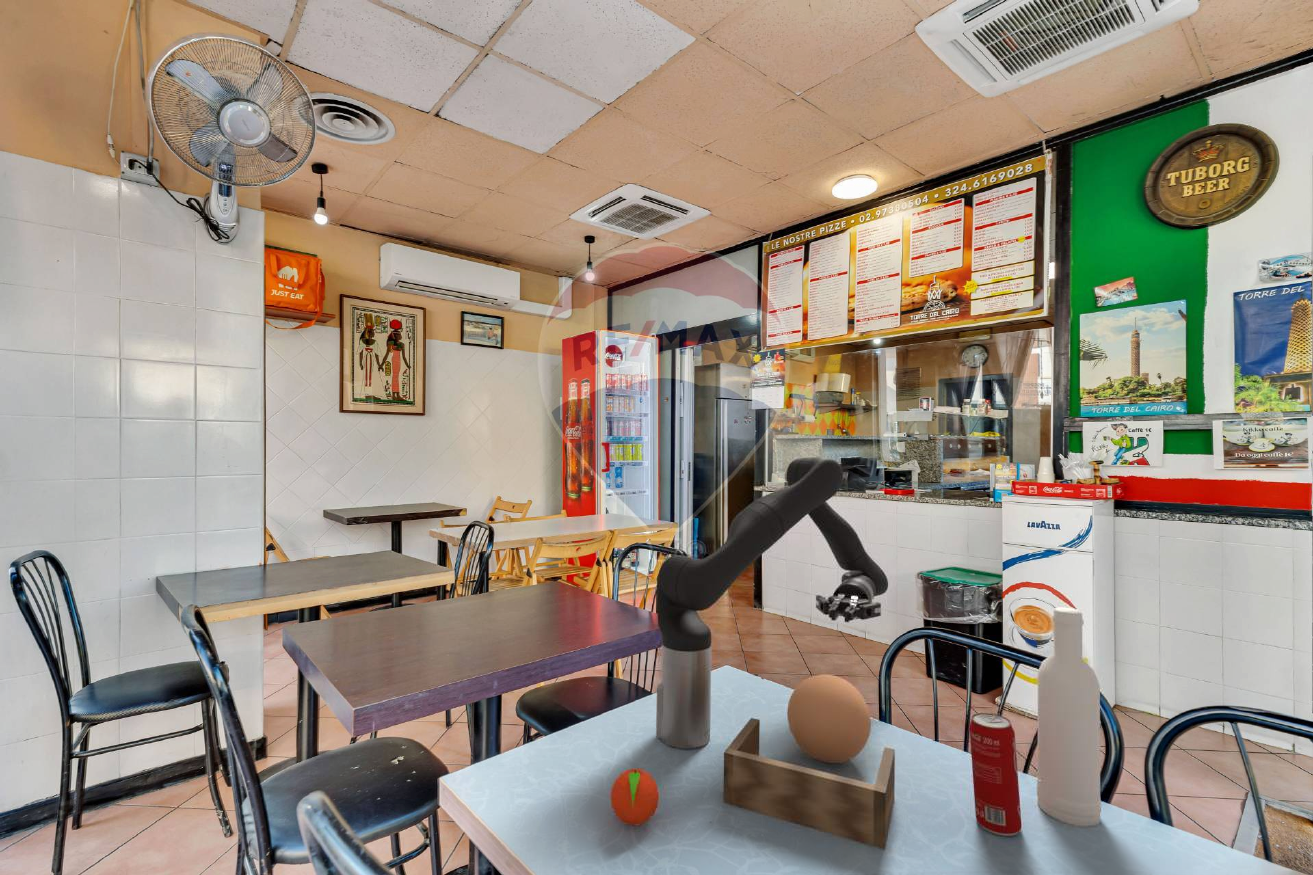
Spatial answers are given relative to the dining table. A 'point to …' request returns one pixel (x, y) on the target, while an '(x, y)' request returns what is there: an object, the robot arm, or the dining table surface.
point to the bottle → (1068, 728)
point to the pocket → (809, 792)
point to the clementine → (634, 797)
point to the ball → (829, 718)
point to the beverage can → (995, 774)
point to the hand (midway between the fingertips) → (840, 615)
